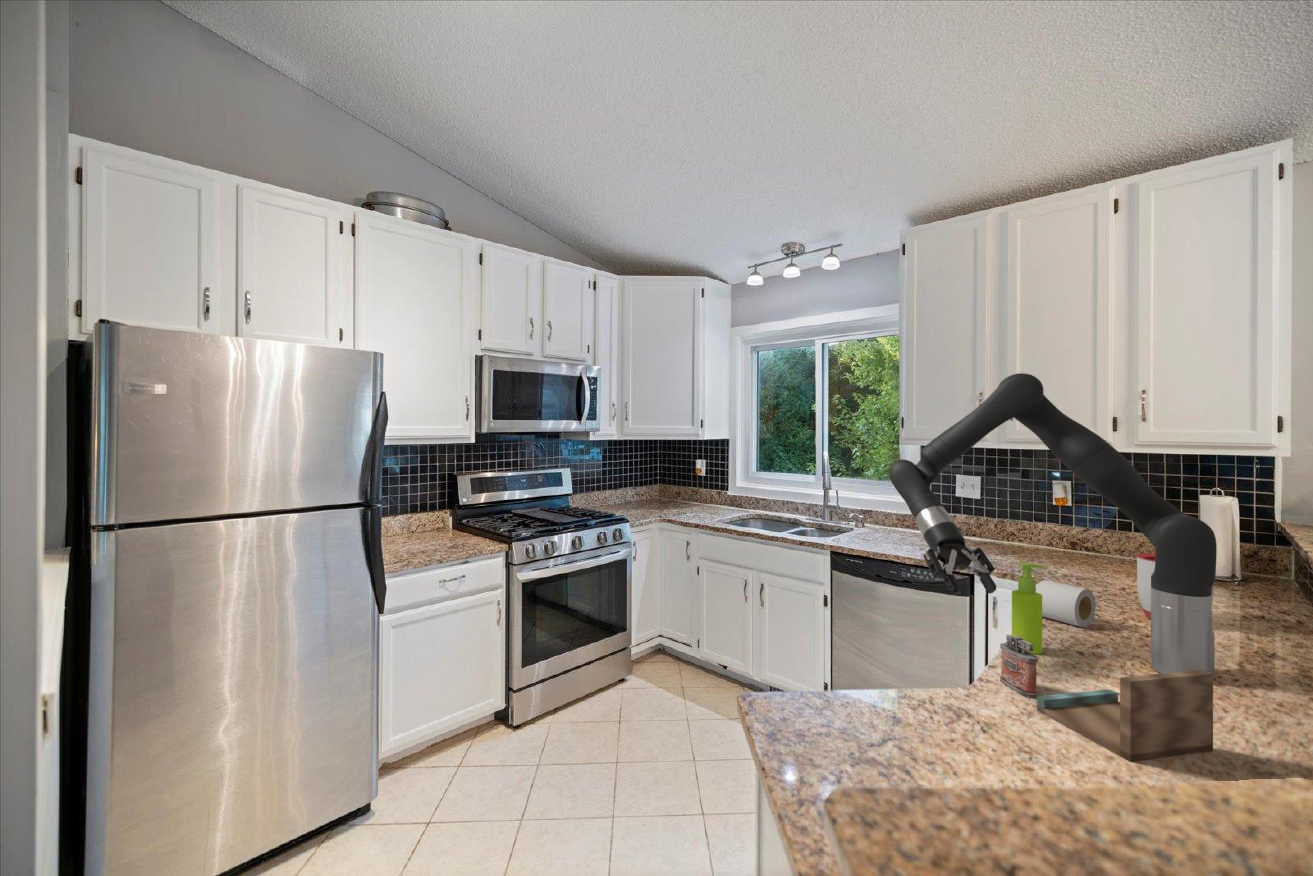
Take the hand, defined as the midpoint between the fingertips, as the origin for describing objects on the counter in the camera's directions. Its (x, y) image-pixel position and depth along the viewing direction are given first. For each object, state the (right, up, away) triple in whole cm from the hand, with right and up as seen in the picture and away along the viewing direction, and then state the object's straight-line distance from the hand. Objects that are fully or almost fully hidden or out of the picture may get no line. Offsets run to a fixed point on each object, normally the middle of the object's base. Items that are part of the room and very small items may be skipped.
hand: (975, 592), depth 117 cm
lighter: (+2, -16, -11) cm, 19 cm away
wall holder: (+9, -16, -26) cm, 31 cm away
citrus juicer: (+72, -17, +31) cm, 80 cm away
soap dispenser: (+18, -16, +10) cm, 26 cm away
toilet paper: (+42, -17, +31) cm, 54 cm away
